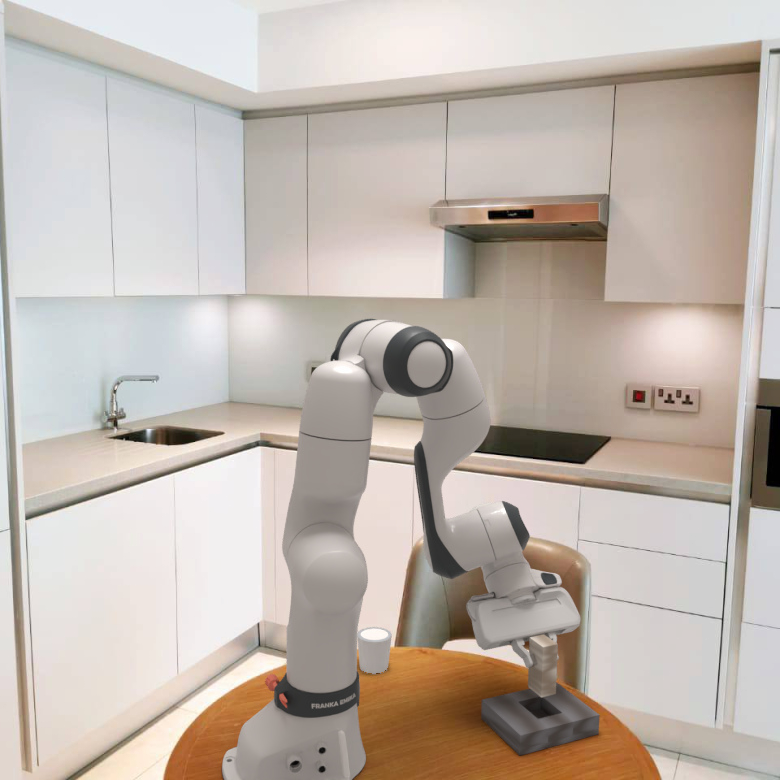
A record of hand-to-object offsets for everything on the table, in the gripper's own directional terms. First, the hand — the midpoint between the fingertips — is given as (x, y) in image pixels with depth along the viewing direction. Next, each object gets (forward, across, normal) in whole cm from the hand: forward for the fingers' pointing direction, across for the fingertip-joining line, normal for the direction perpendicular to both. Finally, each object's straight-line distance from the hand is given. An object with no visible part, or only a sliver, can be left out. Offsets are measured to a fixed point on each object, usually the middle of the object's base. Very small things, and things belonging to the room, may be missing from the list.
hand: (543, 663), depth 134 cm
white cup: (-14, -18, +30) cm, 37 cm away
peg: (+3, 0, +4) cm, 5 cm away
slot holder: (+8, 0, +8) cm, 11 cm away
